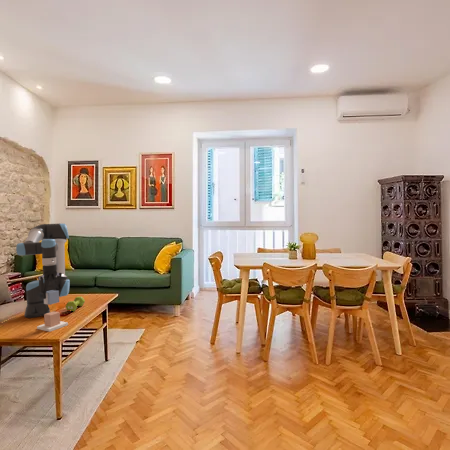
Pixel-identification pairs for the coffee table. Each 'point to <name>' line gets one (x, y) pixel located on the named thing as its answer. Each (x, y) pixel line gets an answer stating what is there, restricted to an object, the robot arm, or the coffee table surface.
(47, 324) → the terracotta block
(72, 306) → the dumbbell
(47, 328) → the baseboard
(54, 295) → the slate block
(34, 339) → the coffee table surface
